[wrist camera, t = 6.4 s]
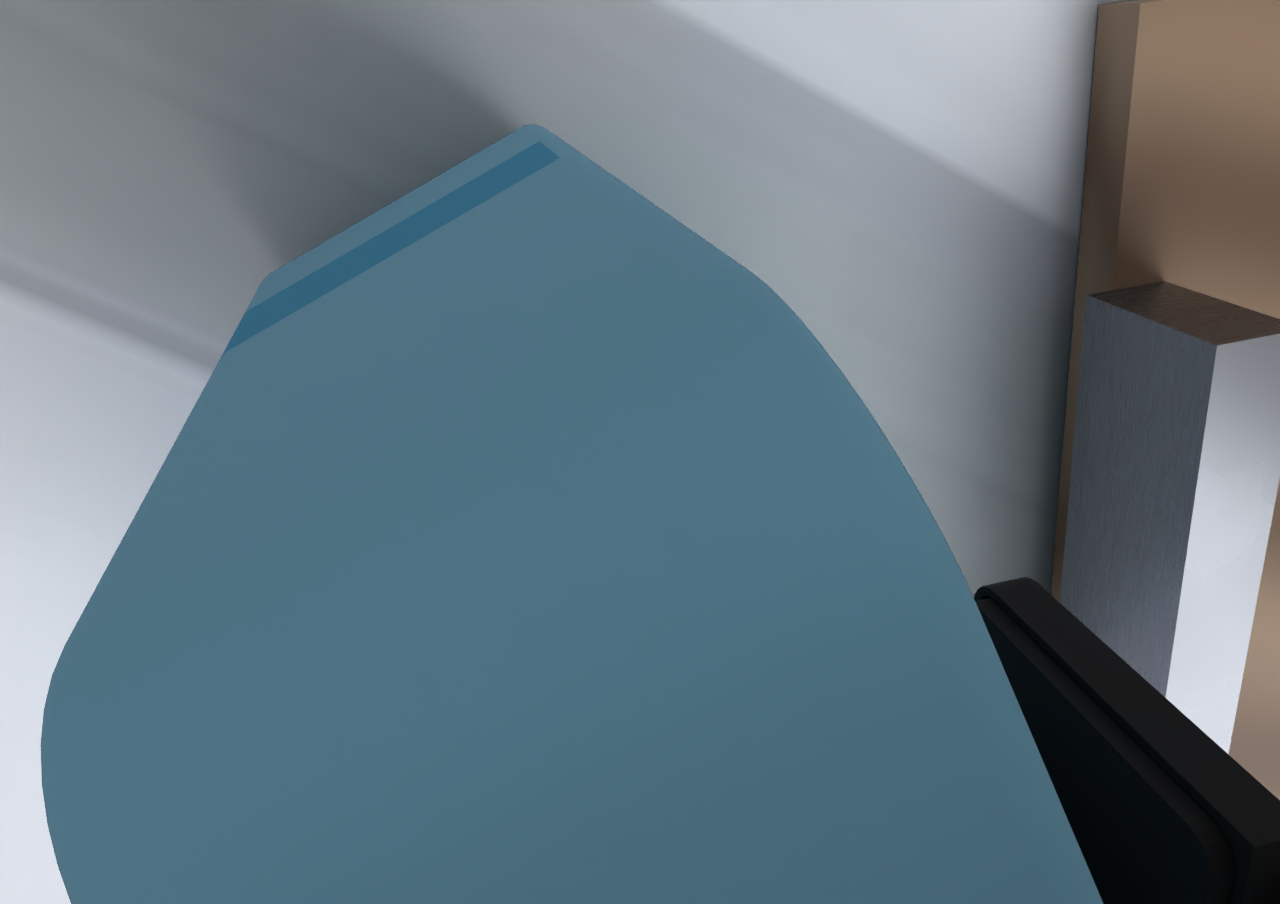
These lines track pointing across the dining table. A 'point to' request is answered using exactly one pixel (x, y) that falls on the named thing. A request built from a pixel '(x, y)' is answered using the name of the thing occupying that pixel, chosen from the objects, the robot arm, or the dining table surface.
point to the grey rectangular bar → (1174, 488)
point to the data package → (538, 597)
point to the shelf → (1189, 229)
